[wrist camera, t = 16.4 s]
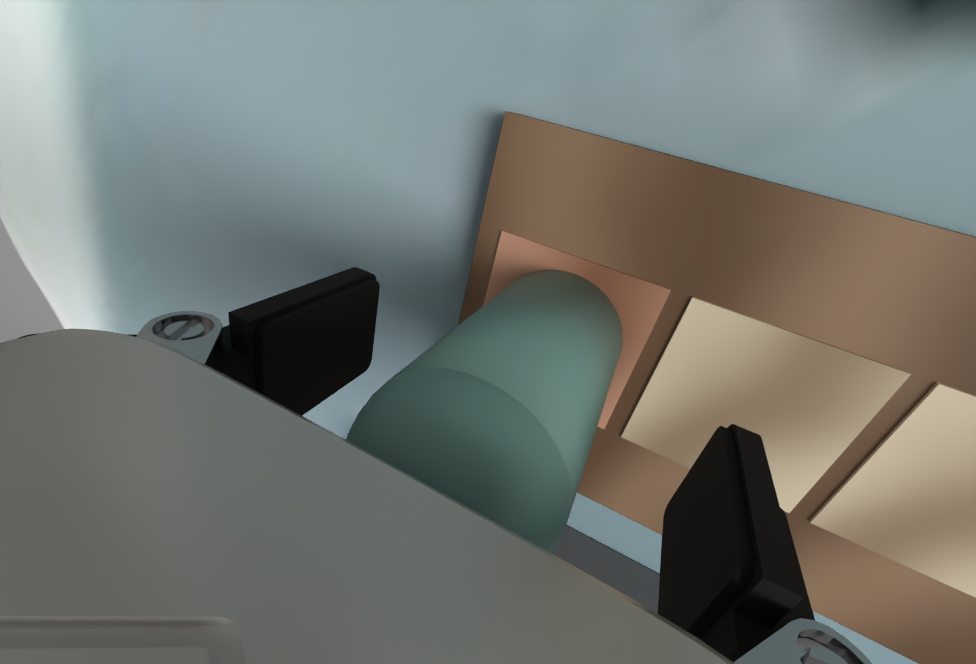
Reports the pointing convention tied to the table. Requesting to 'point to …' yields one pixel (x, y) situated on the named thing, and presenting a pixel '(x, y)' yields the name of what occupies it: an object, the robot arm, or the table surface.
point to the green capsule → (505, 404)
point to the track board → (769, 361)
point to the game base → (609, 567)
